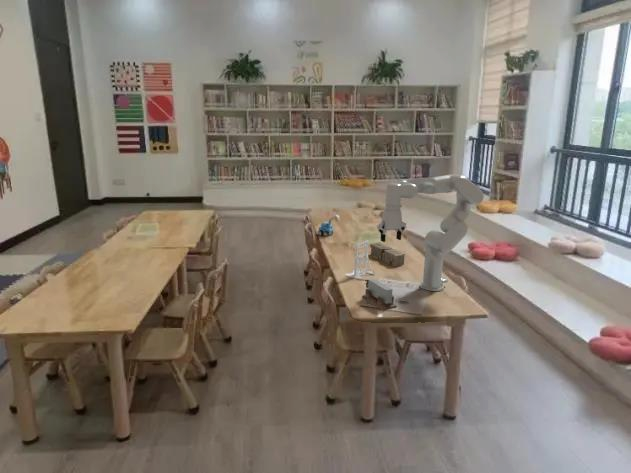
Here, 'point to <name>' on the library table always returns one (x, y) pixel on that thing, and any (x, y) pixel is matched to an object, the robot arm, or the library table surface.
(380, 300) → the rack
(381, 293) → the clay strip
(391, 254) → the grey-brown long block
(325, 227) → the toy excavator
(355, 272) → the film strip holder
